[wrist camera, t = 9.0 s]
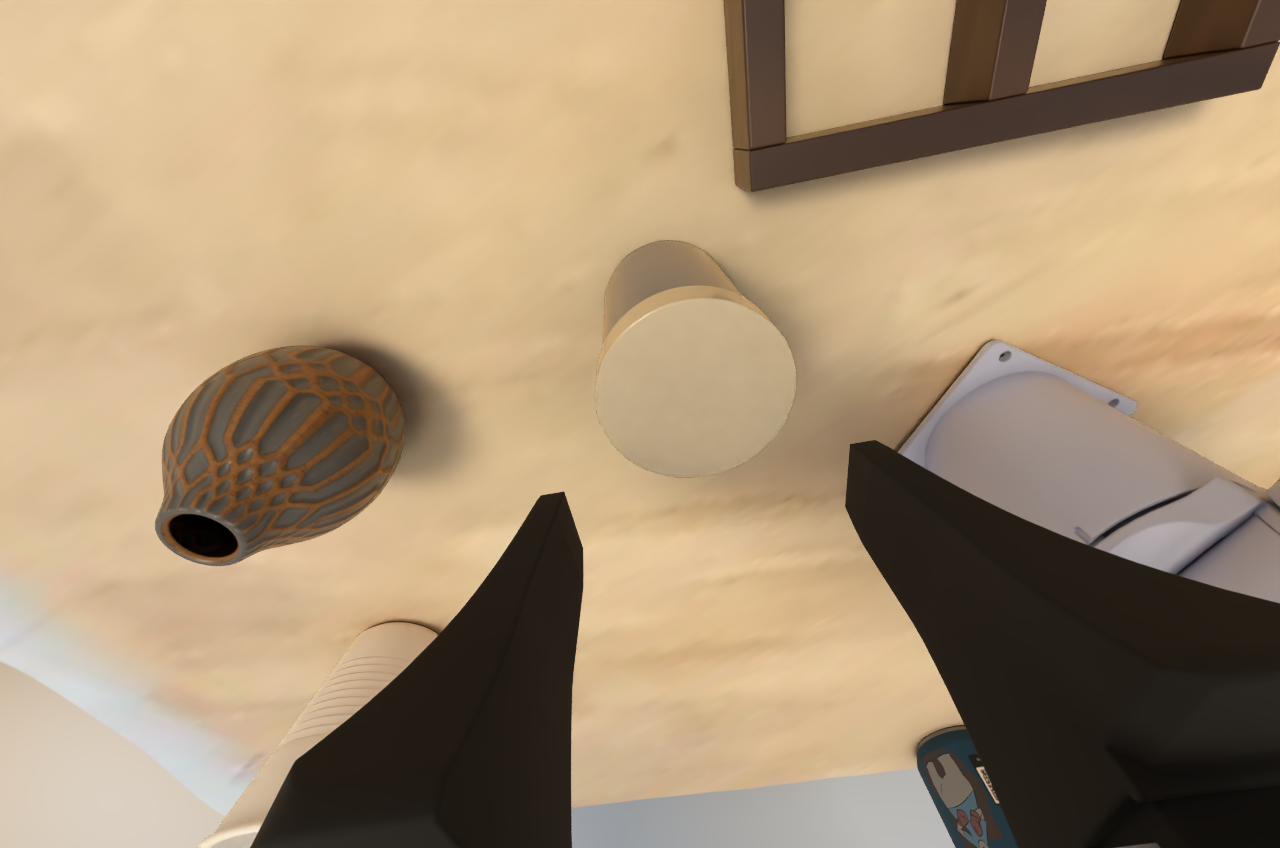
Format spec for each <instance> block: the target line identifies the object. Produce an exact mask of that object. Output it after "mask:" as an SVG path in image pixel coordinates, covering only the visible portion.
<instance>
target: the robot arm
mask: <svg viewBox="0 0 1280 848" xmlns="http://www.w3.org/2000/svg"><path fill="white" fill-rule="evenodd" d="M1004 352H1005V353H1004ZM1002 353H1004V355H1003V356H1002V357H1001V358H999V357H1000V355H1001V354H1002ZM1137 406H1138V405H1137V402H1136V401H1134V400H1132V399H1130V398H1128V397H1126V396H1124V395H1121V394H1119V393H1117V392H1115V391H1112V390H1110V389H1108V388H1106V387H1103V386H1101V385H1099V384H1097V383H1094V382H1092V381H1090V380H1088V379H1086V378H1083V377H1081V376H1079V375H1077V374H1074V373H1072V372H1070V371H1068V370H1065V369H1063V368H1061V367H1059V366H1056V365H1054V364H1052V363H1050V362H1047V361H1045V360H1043V359H1041V358H1038V357H1036V356H1034V355H1032V354H1029V353H1027V352H1025V351H1023V350H1020V349H1018V348H1016V347H1014V346H1011V345H1009V344H1007V343H1005V342H1003V341H1000V340H991V341H990V342H988V343H986V344H985V345H984V346H983V347H982V349H981V350H980V351H979V352H978V354H977V355H976V356H975V357H974V358H973V360H972V361H971V362H970V363H969V365H968V366H967V367H966V368H965V370H964V371H963V372H962V373H961V374H960V376H959V377H958V378H957V379H956V381H955V382H954V383H953V384H952V386H951V387H950V388H949V389H948V390H947V392H946V393H945V394H944V395H943V397H942V398H941V399H940V400H939V402H938V403H937V404H936V405H935V406H934V408H933V409H932V410H931V411H930V413H929V414H928V415H927V416H926V418H925V419H924V420H923V421H922V423H921V424H920V425H919V426H918V427H917V429H916V430H915V431H914V432H913V434H912V435H911V436H910V437H909V439H908V440H907V441H906V442H905V443H904V445H903V446H902V447H901V448H900V450H899V451H898V452H896V451H894V450H893V449H891V448H889V447H887V446H885V445H884V444H882V443H880V442H878V441H876V440H873V441H867V442H861V443H855V444H850V452H849V465H848V478H847V490H846V503H845V507H846V509H847V512H848V514H849V516H850V518H851V521H852V523H853V525H854V527H855V529H856V531H857V533H858V536H859V538H860V540H861V542H862V543H863V545H864V547H865V548H866V550H867V552H868V553H869V555H870V556H871V558H872V560H873V561H874V563H875V564H876V566H877V568H878V569H879V571H880V572H881V574H882V575H883V577H884V579H885V580H886V582H887V583H888V585H889V586H890V588H891V589H892V591H893V593H894V594H895V596H896V597H897V599H898V600H899V602H900V604H901V605H902V607H903V608H904V610H905V611H906V613H907V614H908V616H909V618H910V619H911V621H912V622H913V624H914V626H915V628H916V629H917V631H918V633H919V634H920V636H921V638H922V640H923V641H924V643H925V645H926V647H927V649H928V651H929V653H930V655H931V657H932V659H933V661H934V663H935V665H936V667H937V669H938V671H939V673H940V675H941V677H942V679H943V681H944V683H945V685H946V687H947V689H948V691H949V693H950V695H951V697H952V699H953V701H954V704H955V706H956V708H957V710H958V712H959V714H960V716H961V718H962V720H963V722H964V724H965V727H966V729H967V731H968V733H969V735H970V738H971V740H972V742H973V744H974V746H975V749H976V751H977V753H978V755H979V758H980V760H981V762H982V764H983V766H984V769H985V771H986V773H987V775H988V777H989V780H990V782H991V784H992V787H993V789H994V792H995V794H996V796H997V799H998V801H999V803H1000V806H1001V808H1002V811H1003V813H1004V815H1005V818H1006V820H1007V822H1008V825H1009V827H1010V830H1011V832H1012V834H1013V837H1014V839H1015V842H1016V844H1017V847H1018V848H1280V479H1279V480H1278V481H1277V482H1276V483H1275V484H1274V486H1272V487H1271V488H1270V489H1269V490H1267V489H1264V488H1260V487H1258V486H1256V485H1254V484H1252V483H1250V482H1249V481H1247V480H1245V479H1243V478H1241V477H1239V476H1238V475H1236V474H1234V473H1232V472H1230V471H1228V470H1227V469H1225V468H1223V467H1221V466H1219V465H1217V464H1216V463H1214V462H1212V461H1210V460H1208V459H1206V458H1205V457H1203V456H1201V455H1199V454H1197V453H1195V452H1194V451H1192V450H1190V449H1188V448H1186V447H1184V446H1183V445H1181V444H1179V443H1177V442H1175V441H1173V440H1172V439H1170V438H1168V437H1166V436H1164V435H1162V434H1161V433H1159V432H1157V431H1155V430H1153V429H1151V428H1150V427H1148V426H1146V425H1144V424H1142V423H1140V422H1139V421H1137V420H1135V419H1133V418H1131V417H1130V416H1131V415H1132V414H1133V413H1134V412H1135V410H1136V409H1137ZM582 593H583V547H582V544H581V541H580V538H579V535H578V532H577V529H576V526H575V523H574V520H573V517H572V514H571V511H570V508H569V505H568V502H567V499H566V496H565V493H564V492H559V493H553V494H547V495H541V496H540V497H539V499H538V500H537V502H536V503H535V505H534V506H533V508H532V510H531V511H530V513H529V514H528V516H527V518H526V519H525V521H524V523H523V524H522V526H521V527H520V529H519V530H518V532H517V534H516V535H515V537H514V538H513V540H512V541H511V543H510V544H509V546H508V547H507V549H506V550H505V552H504V553H503V555H502V556H501V558H500V559H499V561H498V562H497V564H496V565H495V566H494V568H493V569H492V570H491V572H490V573H489V575H488V576H487V577H486V579H485V580H484V581H483V583H482V584H481V585H480V587H479V588H478V589H477V591H476V592H475V593H474V595H473V596H472V597H471V598H470V600H469V601H468V602H467V603H466V605H465V606H464V607H463V608H462V609H461V611H460V612H459V613H458V614H457V615H456V616H455V617H454V619H453V620H452V621H451V622H450V623H449V624H448V625H447V627H446V628H445V629H444V630H443V631H442V632H441V633H440V634H439V635H438V636H437V637H436V638H435V639H434V640H433V641H432V642H431V643H430V644H429V645H428V646H427V647H426V648H425V649H424V650H423V651H422V652H421V653H420V654H419V655H418V656H417V657H416V658H415V659H414V660H413V661H412V663H411V664H410V665H409V666H408V667H406V668H405V669H404V670H403V671H402V672H401V673H400V674H399V675H398V676H397V677H396V678H395V679H394V680H392V681H391V682H390V683H389V684H388V685H387V686H386V687H385V688H384V689H383V690H381V691H380V692H379V693H378V694H377V695H376V696H375V697H373V698H372V699H371V700H370V701H369V702H368V703H367V704H365V705H364V706H363V707H362V708H361V709H360V710H358V711H357V712H356V713H355V714H354V715H352V716H351V717H350V718H349V719H348V720H346V721H345V722H344V723H342V724H341V725H340V726H339V727H337V728H336V729H335V730H334V731H332V732H331V733H330V734H329V735H327V736H326V737H325V738H324V739H322V740H321V741H320V742H319V743H317V744H316V745H315V746H313V747H312V748H311V749H310V750H308V751H307V752H306V753H305V754H303V755H302V756H301V757H299V758H298V759H297V760H295V762H294V764H293V765H292V767H291V769H290V771H289V773H288V775H287V777H286V778H285V780H284V782H283V784H282V786H281V788H280V790H279V792H278V794H277V796H276V798H275V800H274V802H273V804H272V806H271V808H270V810H269V812H268V814H267V816H266V818H265V820H264V822H263V823H262V825H261V827H260V829H259V831H258V833H257V835H256V837H255V839H254V841H253V843H252V845H251V847H250V848H572V837H571V715H572V684H573V671H574V662H575V654H576V645H577V637H578V628H579V620H580V611H581V602H582Z"/></svg>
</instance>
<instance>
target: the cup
mask: <svg viewBox="0 0 1280 848" xmlns="http://www.w3.org/2000/svg"><path fill="white" fill-rule="evenodd" d="M437 636H438V634H437V633H435V632H434V631H432V630H430V629H428V628H425V627H423V626H420V625H416V624H412V623H404V622H392V623H385V624H381V625H377V626H375V627H372V628H369V629H367V630H365V631H363V632H362V633H361V634H359V635H358V636H357V637H356V639H355V640H354V641H353V643H352V644H351V645H350V647H349V648H348V649H347V651H346V652H345V654H344V655H343V656H342V658H341V659H340V660H339V662H338V663H337V665H336V666H335V667H334V669H333V671H332V672H331V673H330V674H329V676H328V677H327V679H326V680H325V681H324V683H323V684H322V686H321V687H320V689H319V690H318V691H317V692H316V694H315V696H314V697H313V698H312V699H311V701H310V702H309V704H308V705H307V706H306V708H305V709H304V710H303V712H302V713H301V715H300V716H299V717H298V718H297V720H296V722H295V723H294V724H293V725H292V727H291V728H290V730H289V732H288V733H287V734H286V735H285V736H284V738H283V740H282V741H281V742H280V744H279V745H278V746H277V747H276V749H275V751H274V752H273V753H272V754H271V756H270V757H269V758H268V759H267V761H266V762H265V764H264V765H263V766H262V768H261V769H260V770H259V772H258V773H257V775H256V776H255V777H254V779H253V780H252V781H251V783H250V784H249V786H248V787H247V788H246V790H245V791H244V792H243V794H242V795H241V797H240V798H239V799H238V801H237V802H236V803H235V805H234V806H233V808H232V809H231V810H230V812H229V813H228V814H227V816H226V817H225V819H224V820H223V821H222V823H221V824H220V826H219V827H218V828H217V830H216V831H215V832H214V834H212V835H210V836H208V837H207V838H205V839H204V840H203V841H202V843H201V844H200V845H199V846H198V847H197V848H250V847H251V845H252V843H253V841H254V839H255V837H256V835H257V833H258V831H259V829H260V827H261V825H262V823H263V822H264V820H265V818H266V816H267V814H268V812H269V810H270V808H271V806H272V804H273V802H274V800H275V798H276V796H277V794H278V792H279V790H280V788H281V786H282V784H283V782H284V780H285V778H286V777H287V775H288V773H289V771H290V769H291V767H292V765H293V764H294V762H295V760H297V759H298V758H299V757H301V756H302V755H303V754H305V753H306V752H307V751H308V750H310V749H311V748H312V747H313V746H315V745H316V744H317V743H319V742H320V741H321V740H322V739H324V738H325V737H326V736H327V735H329V734H330V733H331V732H332V731H334V730H335V729H336V728H337V727H339V726H340V725H341V724H342V723H344V722H345V721H346V720H348V719H349V718H350V717H351V716H352V715H354V714H355V713H356V712H357V711H358V710H360V709H361V708H362V707H363V706H364V705H365V704H367V703H368V702H369V701H370V700H371V699H372V698H373V697H375V696H376V695H377V694H378V693H379V692H380V691H381V690H383V689H384V688H385V687H386V686H387V685H388V684H389V683H390V682H391V681H392V680H394V679H395V678H396V677H397V676H398V675H399V674H400V673H401V672H402V671H403V670H404V669H405V668H406V667H408V666H409V665H410V664H411V663H412V661H413V660H414V659H415V658H416V657H417V656H418V655H419V654H420V653H421V652H422V651H423V650H424V649H425V648H426V647H427V646H428V645H429V644H430V643H431V642H432V641H433V640H434V639H435V638H436V637H437Z"/></svg>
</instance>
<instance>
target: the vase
mask: <svg viewBox="0 0 1280 848" xmlns="http://www.w3.org/2000/svg"><path fill="white" fill-rule="evenodd" d="M404 435H405V424H404V417H403V412H402V408H401V405H400V403H399V400H398V398H397V396H396V395H395V393H394V391H393V390H392V389H391V387H390V386H389V384H388V383H387V382H386V381H385V380H384V379H383V377H382V376H381V375H379V374H378V373H377V372H376V371H375V370H374V369H372V368H371V367H370V366H368V365H367V364H365V363H364V362H362V361H360V360H358V359H356V358H354V357H352V356H350V355H347V354H345V353H342V352H340V351H336V350H333V349H329V348H324V347H316V346H289V347H281V348H274V349H270V350H266V351H262V352H258V353H255V354H252V355H249V356H247V357H245V358H243V359H240V360H238V361H236V362H234V363H232V364H230V365H228V366H227V367H225V368H223V369H221V370H220V371H218V372H217V373H215V374H214V375H212V376H211V377H209V378H208V379H206V380H205V381H204V382H203V383H202V384H201V385H200V386H198V387H197V388H196V389H195V390H194V391H193V392H192V393H191V395H190V396H189V397H188V398H187V399H186V400H185V402H184V403H183V404H182V406H181V407H180V409H179V410H178V412H177V413H176V415H175V416H174V418H173V420H172V422H171V424H170V426H169V428H168V431H167V433H166V436H165V439H164V444H163V449H162V474H163V487H164V499H163V503H162V505H161V508H160V510H159V513H158V515H157V518H156V521H155V530H156V533H157V535H158V537H159V539H160V540H161V541H162V542H163V544H164V545H165V546H166V547H168V548H169V549H170V550H171V551H173V552H174V553H176V554H177V555H179V556H181V557H183V558H185V559H187V560H190V561H192V562H196V563H199V564H204V565H210V566H226V565H231V564H234V563H237V562H239V561H242V560H244V559H245V558H247V557H249V556H251V555H253V554H255V553H257V552H260V551H262V550H265V549H270V548H275V547H280V546H285V545H289V544H294V543H298V542H302V541H306V540H310V539H313V538H316V537H319V536H321V535H324V534H326V533H328V532H330V531H332V530H334V529H336V528H338V527H340V526H342V525H343V524H345V523H346V522H348V521H349V520H351V519H352V518H354V517H355V516H356V515H358V514H359V513H360V512H362V511H363V510H364V509H365V508H366V507H367V506H368V505H370V504H371V503H372V502H373V501H374V500H375V498H376V497H377V496H378V495H379V494H380V493H381V491H382V490H383V489H384V487H385V486H386V484H387V483H388V481H389V480H390V478H391V476H392V474H393V473H394V471H395V469H396V466H397V464H398V462H399V460H400V457H401V453H402V449H403V444H404Z"/></svg>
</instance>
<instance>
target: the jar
mask: <svg viewBox="0 0 1280 848" xmlns="http://www.w3.org/2000/svg"><path fill="white" fill-rule="evenodd" d="M796 383H797V382H796V368H795V362H794V358H793V355H792V353H791V350H790V347H789V345H788V344H787V342H786V340H785V338H784V337H783V335H782V334H781V333H780V331H779V330H778V329H777V328H776V326H775V325H774V324H773V323H772V322H771V320H770V319H769V318H768V317H767V316H766V315H765V313H764V312H762V311H761V310H760V309H759V308H758V307H757V306H756V305H755V304H753V303H752V302H751V301H749V300H748V299H746V298H744V297H743V295H742V294H741V293H740V292H739V291H738V289H737V288H736V287H735V286H734V284H733V283H732V282H731V281H730V279H729V278H728V277H727V276H726V274H725V273H724V272H723V271H722V270H721V268H720V267H719V266H718V265H717V263H716V262H715V261H714V260H713V259H712V258H711V257H710V256H709V255H708V254H707V253H705V252H704V251H703V250H701V249H700V248H698V247H696V246H694V245H691V244H688V243H685V242H680V241H669V240H668V241H658V242H654V243H650V244H647V245H645V246H642V247H640V248H639V249H637V250H635V251H634V252H632V253H631V254H629V255H628V256H627V257H626V258H625V259H624V260H623V261H622V262H621V263H620V264H619V265H618V267H617V268H616V269H615V271H614V273H613V274H612V276H611V278H610V281H609V283H608V286H607V289H606V294H605V303H604V325H603V346H602V349H601V352H600V355H599V358H598V363H597V369H596V381H595V405H596V412H597V416H598V419H599V422H600V425H601V427H602V429H603V431H604V433H605V435H606V436H607V438H608V439H609V441H610V442H611V444H612V445H613V446H614V447H615V448H616V449H617V450H618V451H619V452H620V453H621V454H622V455H623V456H624V457H626V458H627V459H628V460H630V461H631V462H633V463H634V464H636V465H638V466H640V467H642V468H644V469H646V470H648V471H651V472H654V473H657V474H661V475H665V476H670V477H678V478H695V477H704V476H709V475H715V474H718V473H721V472H724V471H727V470H730V469H732V468H735V467H737V466H739V465H741V464H743V463H744V462H746V461H748V460H749V459H751V458H752V457H754V456H755V455H757V454H758V453H759V452H760V451H762V450H763V449H764V448H765V447H766V446H767V445H768V444H769V443H770V442H771V441H772V440H773V439H774V438H775V436H776V435H777V434H778V432H779V431H780V430H781V428H782V427H783V425H784V423H785V421H786V420H787V418H788V416H789V413H790V411H791V408H792V405H793V401H794V397H795V392H796Z"/></svg>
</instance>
